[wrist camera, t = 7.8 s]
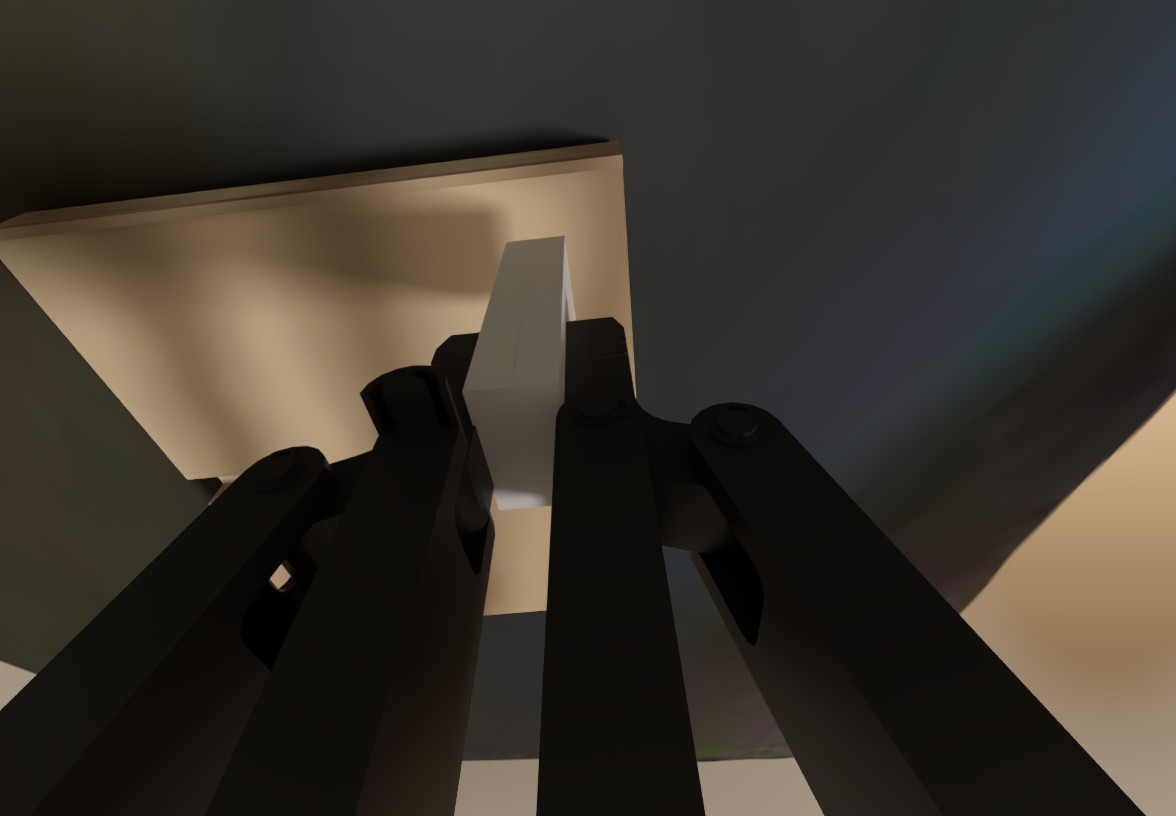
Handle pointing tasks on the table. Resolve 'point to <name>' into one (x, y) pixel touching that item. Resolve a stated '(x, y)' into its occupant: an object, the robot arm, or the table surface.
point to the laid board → (499, 558)
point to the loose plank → (307, 290)
